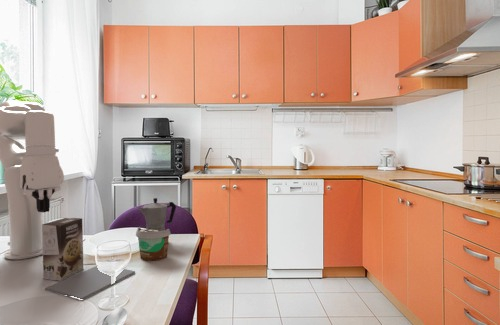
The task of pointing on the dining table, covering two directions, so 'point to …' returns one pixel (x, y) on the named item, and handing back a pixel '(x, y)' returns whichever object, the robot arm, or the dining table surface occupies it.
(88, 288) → the mat
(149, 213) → the coffeepot
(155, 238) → the food container
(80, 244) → the coffee box
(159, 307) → the dining table surface
